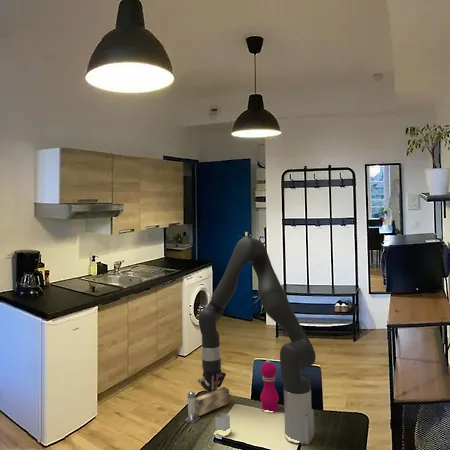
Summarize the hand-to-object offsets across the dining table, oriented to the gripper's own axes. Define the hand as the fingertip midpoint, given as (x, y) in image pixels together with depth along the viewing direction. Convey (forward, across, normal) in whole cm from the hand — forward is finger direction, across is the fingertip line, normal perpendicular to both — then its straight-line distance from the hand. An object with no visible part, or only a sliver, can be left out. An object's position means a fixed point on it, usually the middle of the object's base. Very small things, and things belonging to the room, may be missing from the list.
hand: (213, 399), depth 175 cm
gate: (+2, +3, +3) cm, 4 cm away
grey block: (+3, +10, +19) cm, 21 cm away
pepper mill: (+3, -14, +18) cm, 23 cm away
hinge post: (+3, +12, +3) cm, 13 cm away
